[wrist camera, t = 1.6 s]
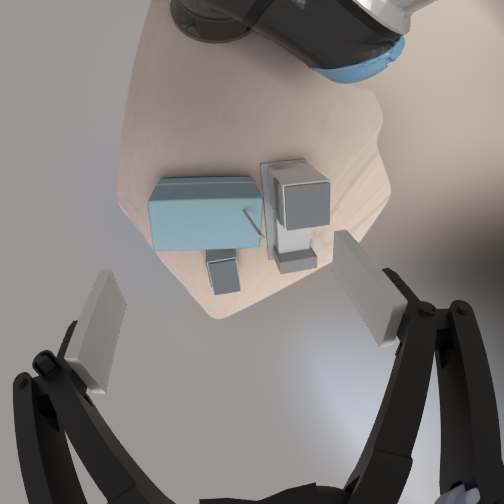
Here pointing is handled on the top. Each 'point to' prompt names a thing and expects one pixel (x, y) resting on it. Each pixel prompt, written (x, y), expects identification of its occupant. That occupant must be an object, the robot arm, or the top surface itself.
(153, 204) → the radio
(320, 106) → the top surface
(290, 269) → the block
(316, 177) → the block
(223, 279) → the block
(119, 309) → the robot arm
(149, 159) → the top surface
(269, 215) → the rail panel
